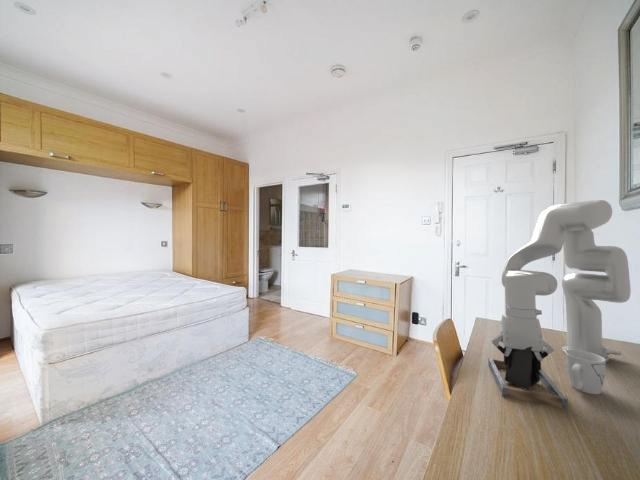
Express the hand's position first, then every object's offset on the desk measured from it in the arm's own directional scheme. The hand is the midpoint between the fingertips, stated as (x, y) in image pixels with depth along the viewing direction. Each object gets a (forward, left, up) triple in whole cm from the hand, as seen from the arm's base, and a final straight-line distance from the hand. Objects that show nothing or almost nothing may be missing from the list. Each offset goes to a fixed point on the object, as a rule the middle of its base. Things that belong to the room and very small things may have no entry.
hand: (521, 369), depth 79 cm
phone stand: (0, 0, -4) cm, 4 cm away
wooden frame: (0, 0, -4) cm, 4 cm away
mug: (-15, -2, -5) cm, 16 cm away
